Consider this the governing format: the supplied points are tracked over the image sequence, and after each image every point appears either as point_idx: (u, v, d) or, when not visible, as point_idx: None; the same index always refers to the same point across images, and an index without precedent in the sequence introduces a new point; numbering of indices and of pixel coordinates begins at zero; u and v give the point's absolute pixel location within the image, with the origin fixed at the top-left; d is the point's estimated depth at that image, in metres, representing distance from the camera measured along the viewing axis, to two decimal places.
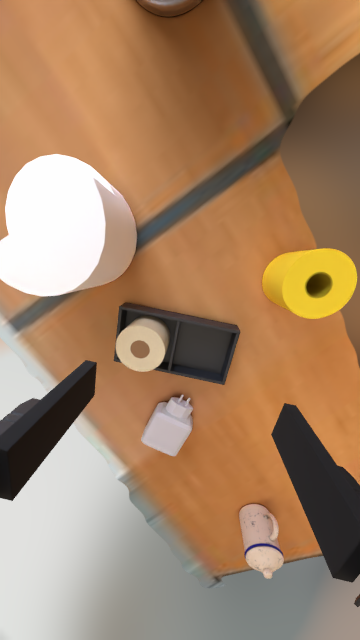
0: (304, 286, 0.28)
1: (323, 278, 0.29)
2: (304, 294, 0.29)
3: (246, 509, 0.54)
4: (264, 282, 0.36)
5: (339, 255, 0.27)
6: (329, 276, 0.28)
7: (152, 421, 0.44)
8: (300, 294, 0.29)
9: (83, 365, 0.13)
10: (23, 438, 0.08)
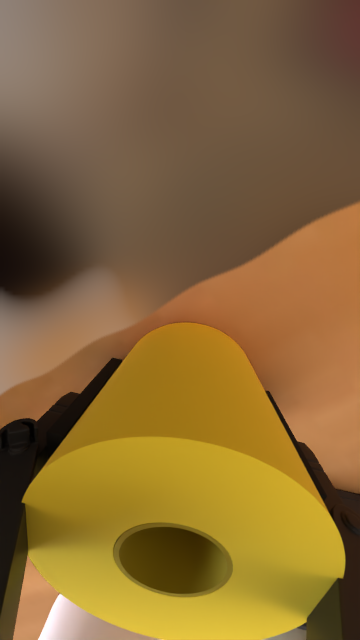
0: (177, 598, 0.07)
1: None
2: (212, 599, 0.06)
3: None
4: None
5: (35, 507, 0.06)
6: (130, 530, 0.06)
7: None
8: (210, 607, 0.07)
9: (111, 362, 0.14)
10: (73, 425, 0.09)
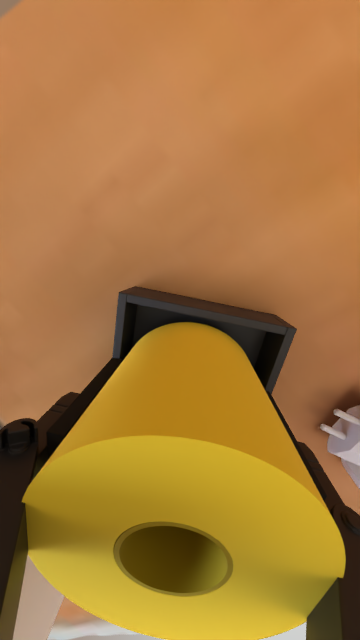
0: (177, 597, 0.07)
1: None
2: (212, 598, 0.06)
3: None
4: None
5: (35, 506, 0.06)
6: (130, 529, 0.06)
7: None
8: (210, 607, 0.07)
9: (111, 362, 0.14)
10: (73, 425, 0.09)
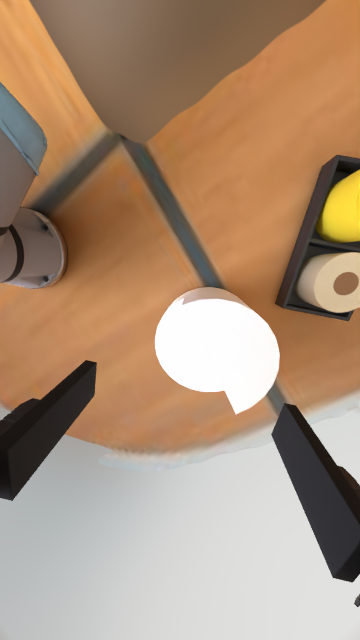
0: None
1: None
2: None
3: None
4: (346, 242, 0.33)
5: None
6: None
7: None
8: None
9: (83, 365, 0.13)
10: (23, 438, 0.08)
